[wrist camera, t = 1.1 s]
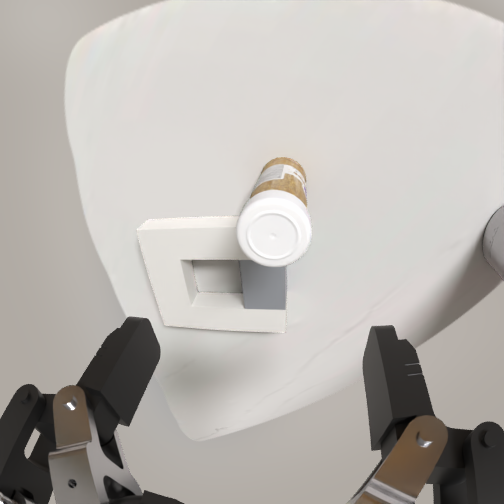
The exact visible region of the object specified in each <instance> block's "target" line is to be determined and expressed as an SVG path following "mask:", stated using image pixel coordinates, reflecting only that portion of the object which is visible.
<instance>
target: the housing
mask: <svg viewBox="0 0 504 504" xmlns="http://www.w3.org/2000/svg"><path fill="white" fill-rule="evenodd" d="M238 218H239V216H212V217H186V218H165V219H147V220H146V221H145V222H144V223H143V224H142V225H141V226H140V227H139V228H138V229H137V230H136V233H137V237H138V240H139V244H140V248H141V251H142V255H143V259H144V262H145V265H146V269H147V272H148V276H149V279H150V282H151V285H152V289H153V292H154V295H155V298H156V301H157V304H158V307H159V310H160V313H161V316H162V319H163V322H164V325H165V326H175V327H186V328H198V329H212V330H228V331H247V332H276V333H286V324H287V277H286V266H283V267H267V266H263V265H260V264H258V263H256V262H254V261H252V260H251V259H250V258H248V257H247V256H246V255H245V254H244V252H243V251H242V250H241V248H240V246H239V244H238V242H237V238H236V224H237V221H238ZM192 260H239V264H240V273H241V281H242V289H243V293H216V292H198V288H197V283H196V279H195V274H194V270H193V265H192Z"/></svg>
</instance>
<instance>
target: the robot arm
mask: <svg viewBox="0 0 504 504" xmlns="http://www.w3.org/2000/svg"><path fill="white" fill-rule="evenodd" d="M483 253H484V256H485V259H486V260H487V261H488V263H489V264H490V265H491V266H492V267H493V268H494V270H495V271H496V272H497V273H498V274H499V276H500V277H501V278H502V280H503V281H504V206H502V207H501V208H500V209H499V210H497V212H496V213H495V214H494V215H493V217H492V218H491V220H490V221H489V223H488V225H487V227H486V230H485V234H484V238H483ZM159 359H160V345H159V343H158V340H157V338H156V336H155V333H154V331H153V328H152V325H151V323H150V321H149V320H148V319H147V318H139V317H128V318H127V319H126V320H125V322H124V323H123V325H122V326H121V328H117V329H116V330H115V331H113V332H112V333H111V334H110V335H109V336H107V338H106V339H105V341H104V342H103V344H102V345H101V348H99V350H98V352H97V353H96V356H94V358H93V359H92V361H91V362H90V364H89V366H88V367H87V369H86V370H85V372H84V373H83V375H82V377H81V378H80V380H79V382H78V383H77V384H76V386H75V385H69V386H66V387H64V388H62V389H61V390H60V391H59V392H58V393H57V394H41V392H40V391H39V390H38V389H37V388H36V387H35V386H34V385H32V384H26V385H23V386H22V387H20V388H19V389H18V390H17V391H16V393H15V394H14V396H13V398H12V399H11V401H10V403H9V405H8V406H7V408H6V410H5V411H4V413H3V415H2V417H1V419H0V504H48V502H49V500H50V497H51V494H52V491H53V490H54V495H55V500H56V504H184V503H182V502H180V501H178V500H176V499H172V498H168V497H165V496H162V495H158V494H155V493H152V492H148V491H146V490H144V493H142V491H141V489H140V487H139V485H138V483H137V482H136V480H135V479H134V478H133V476H132V475H131V473H130V471H129V468H128V465H127V462H126V459H125V456H124V453H123V449H122V446H121V442H120V439H119V435H118V432H117V430H116V427H117V425H118V424H121V425H125V426H129V425H130V423H131V421H132V418H133V416H134V414H135V411H136V410H137V407H138V405H139V403H140V401H141V398H142V396H143V394H144V392H145V390H146V388H147V385H148V383H149V381H150V379H151V377H152V375H153V372H154V370H155V368H156V366H157V364H158V362H159ZM363 376H364V382H365V390H366V398H367V406H368V416H369V426H370V436H371V450H372V451H373V450H381V455H382V459H381V460H380V462H379V463H378V465H377V466H376V467H375V469H374V470H373V471H372V473H371V474H370V476H369V477H368V478H367V479H366V481H365V482H364V483H363V485H362V486H361V487H360V488H359V489H358V491H357V492H356V493H355V494H354V495H353V497H352V498H351V499H350V500H349V501H348V502H347V504H415V500H416V498H417V497H418V495H419V493H420V492H421V490H422V488H423V487H424V485H425V483H426V484H433V493H434V504H504V431H503V429H502V428H501V427H500V426H499V425H498V424H496V423H494V422H484V423H481V424H480V425H478V426H477V427H476V428H475V429H474V430H464V429H454V428H449V427H447V426H445V424H444V423H443V422H442V421H441V420H440V419H438V418H436V416H435V414H434V412H433V409H432V405H431V401H430V397H429V394H428V390H427V387H426V383H425V379H424V376H423V375H422V369H421V366H420V365H419V359H418V356H417V353H416V350H415V349H414V348H413V346H412V345H411V344H410V343H409V342H408V341H407V339H404V340H398V338H397V335H396V331H395V328H394V326H393V325H388V326H372V327H371V329H370V333H369V337H368V341H367V345H366V348H365V352H364V356H363ZM34 428H35V429H36V430H37V431H39V432H40V433H41V434H40V436H39V438H38V440H37V442H36V444H35V446H34V449H33V451H32V453H31V455H30V457H29V458H28V459H26V457H25V454H24V449H25V447H26V445H27V443H28V441H29V439H30V437H31V434H32V432H33V430H34Z"/></svg>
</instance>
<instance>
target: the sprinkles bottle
mask: <svg viewBox="0 0 504 504" xmlns="http://www.w3.org/2000/svg"><path fill="white" fill-rule="evenodd" d="M236 238H237V242H238V244H239V246H240V248H241V250H242V251H243V252H244V254H245V255H246V256H247V257H248V258H250V259H251V260H252V261H254V262H256V263H258V264H260V265H263V266H267V267H283V266H287V265H290V264H292V263H294V262H296V261H297V260H299V259H300V258H301V257H302V256H303V255H304V254H305V252H306V251H307V249H308V247H309V245H310V242H311V238H312V224H311V218H310V214H309V212H308V210H307V195H306V176H305V172H304V170H303V168H302V167H301V166H300V165H299V163H297V162H296V161H294V160H293V159H290V158H285V157H281V158H276V159H273V160H271V161H270V162H268V163H267V164H266V165H265V166H264V168H263V171H262V173H261V176H260V177H259V179H258V182H257V184H256V186H255V188H254V190H253V192H252V194H251V197H250V199H249V200H248V202H247V203H246V204H245V205H244V207H243V209H242V211H241V213H240V216H239V218H238V221H237V224H236Z"/></svg>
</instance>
